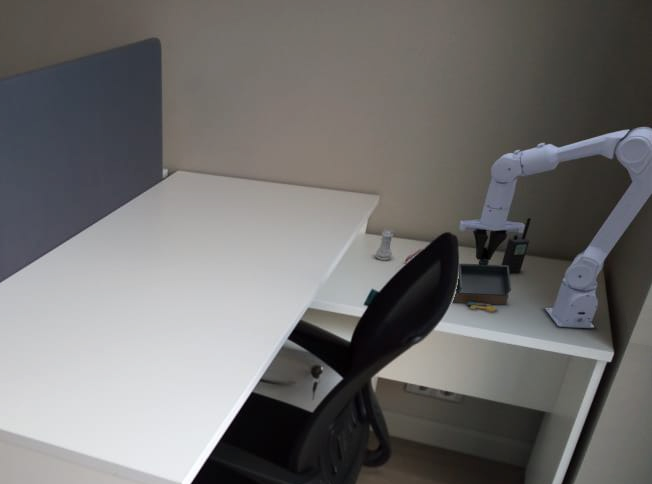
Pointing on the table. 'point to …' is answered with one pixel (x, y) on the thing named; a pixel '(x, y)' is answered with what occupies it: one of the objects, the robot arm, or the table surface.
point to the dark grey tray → (484, 278)
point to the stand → (480, 298)
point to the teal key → (478, 304)
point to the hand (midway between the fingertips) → (482, 258)
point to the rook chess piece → (385, 246)
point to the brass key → (487, 308)
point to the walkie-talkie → (516, 251)
